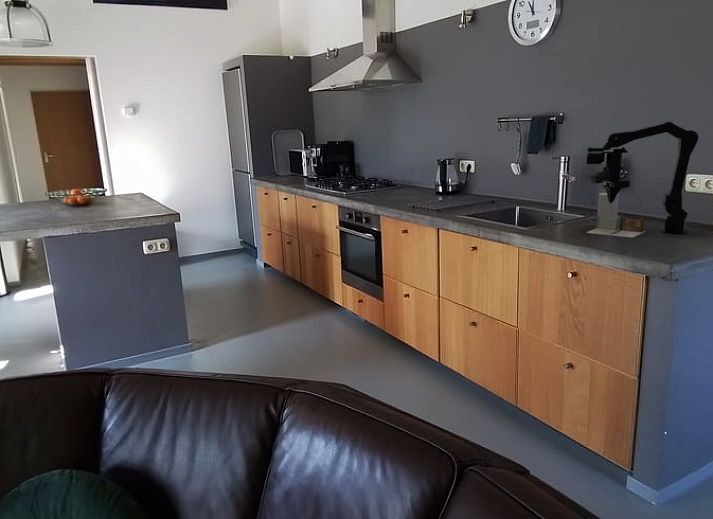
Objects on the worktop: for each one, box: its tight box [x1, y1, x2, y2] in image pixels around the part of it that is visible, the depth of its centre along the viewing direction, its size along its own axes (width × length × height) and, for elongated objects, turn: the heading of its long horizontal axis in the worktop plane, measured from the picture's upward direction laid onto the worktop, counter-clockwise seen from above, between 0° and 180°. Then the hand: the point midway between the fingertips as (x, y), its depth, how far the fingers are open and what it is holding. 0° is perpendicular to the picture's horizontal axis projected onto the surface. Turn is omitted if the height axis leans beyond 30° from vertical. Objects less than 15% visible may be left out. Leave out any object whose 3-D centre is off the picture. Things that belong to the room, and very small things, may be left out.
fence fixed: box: [619, 216, 645, 232], centre depth 221 cm, size 9×1×6 cm, turn 45°
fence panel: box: [595, 213, 621, 230], centre depth 228 cm, size 9×1×6 cm, turn 45°
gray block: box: [597, 192, 620, 218], centre depth 248 cm, size 8×8×12 cm
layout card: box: [585, 227, 646, 239], centre depth 222 cm, size 18×14×1 cm
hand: (610, 202), depth 224 cm, fingers closed
